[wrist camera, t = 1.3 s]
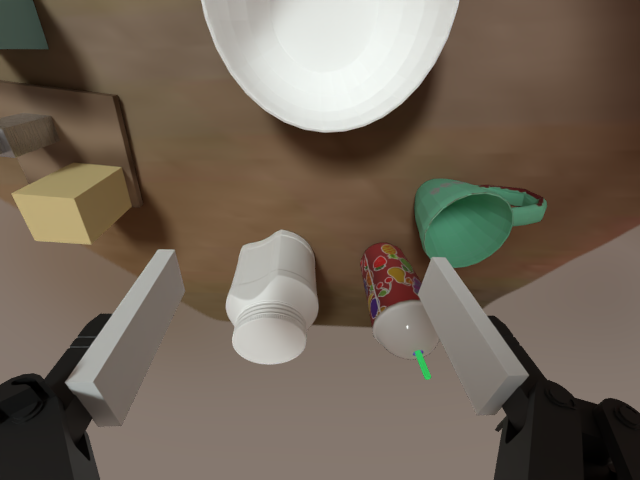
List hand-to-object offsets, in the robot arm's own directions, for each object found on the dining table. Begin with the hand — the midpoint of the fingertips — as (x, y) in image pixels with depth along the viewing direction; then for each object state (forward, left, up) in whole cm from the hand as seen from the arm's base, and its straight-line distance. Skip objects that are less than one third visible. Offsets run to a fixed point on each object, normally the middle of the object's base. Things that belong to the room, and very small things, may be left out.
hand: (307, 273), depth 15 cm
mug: (+4, +21, -24) cm, 32 cm away
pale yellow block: (+7, -24, -23) cm, 33 cm away
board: (+3, -26, -24) cm, 35 cm away
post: (+1, -28, -23) cm, 36 cm away
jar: (+18, -2, -24) cm, 30 cm away
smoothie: (+16, +14, -24) cm, 32 cm away
